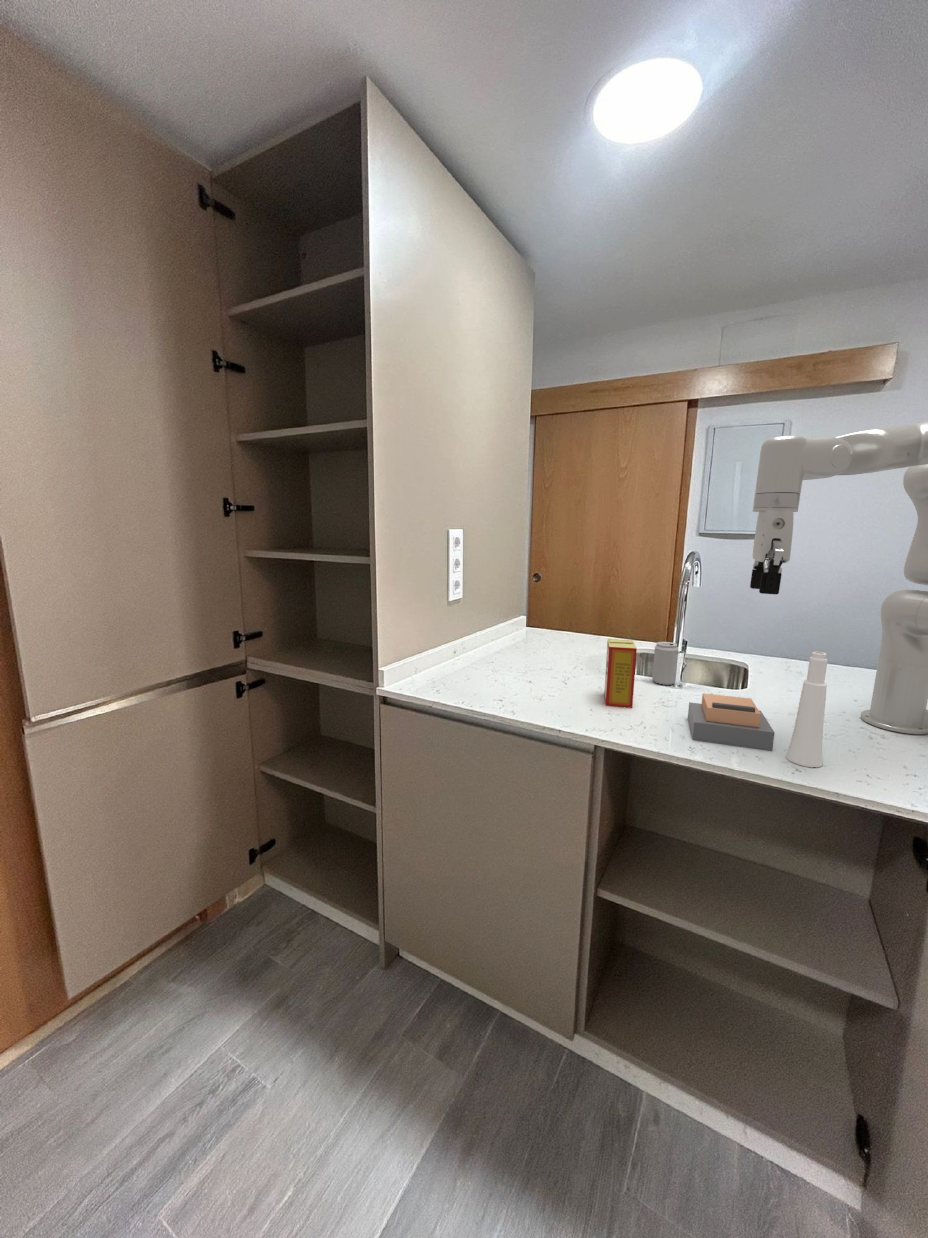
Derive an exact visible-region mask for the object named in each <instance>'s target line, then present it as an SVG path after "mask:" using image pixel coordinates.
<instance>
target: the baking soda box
mask: <svg viewBox="0 0 928 1238" xmlns="http://www.w3.org/2000/svg"><path fill="white" fill-rule="evenodd" d="M605 660H606V662H605V674H604V675H605V676H604V677H605V678H604V693H603V694H604V695H603V696H604V703H605V706H606V707H616V708H624V707H625V708H626V709H633V705H634V704H633V703H634V691H635V690H634V689H635V688H634V687H635V676H636V663H637V662H636V661H637V647H636V644H635V642H634V640H632V639H631V640H630V639H617V638H615V639H613V638H607V645H606V659H605ZM625 708H624V709H625Z"/></svg>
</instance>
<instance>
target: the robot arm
mask: <svg viewBox="0 0 928 1238" xmlns="http://www.w3.org/2000/svg"><path fill="white" fill-rule="evenodd" d="M758 462H759V463H758V468H757V476H756V485H755V491H754V496H753V497H754V498H753V499H754V500H753V506H752V512H754V513H758V515H757V521H756V527H755V534H754V540H753V546H752V547H753V548H752V559H753V560H754V562H753V565H752V570H751V576H750V584H749V588H750V589H753V590H758V592H759V593H760V594H765V595H766V594H767V595H779V594H780V590H781V589H780V588H781V581H782V571H783V564H787V563H789V562H790V560H791V552H792V541H793V532H794V531H793V530H794V513H796V512H798V511H799V506H800V500H801V493H802V486H803V481H811V480H821V479H829V478H832V477H835V476H855V475H863V474H872V473H879V472H884V471H889V470H896V469H903V468H906V470H905V472H904V474H903V482H902V485H903V488H904V491H905V493H906V494H907V496H908V497H909V499H910V500H911V502H912V504H913V506H914V508H915V511H916V514H917V523H916V524H917V525H916V528H915V531H914V533H913V534H914V535H913V537H912V541H911V542H910V544H911V545H910V547H909V550H908V553H907V556H906V559H905V562H904V566H903V575H904V578H905V579H906V580H907V581H909V582H911V583H914V584H917V585H924V586H928V421H923V422H915V423H909V424H901V425H895V426H889V427H888V426H887V427H878V428H871V429H865V430H862V431H855V432H851V433H847V434H843V435H840V436H824V437H813V438H812V437H811V438H809V437H804V436H800V435H780V436H773V437H771V438H767V439H766V440H765V441H764V442H763V443H762V445H761V448H760V454H759V461H758ZM880 618H881V619H880V620H881V642H880V649H879V654H878V655H879V656H878V659H877V660H878V661H877V666H876V667H877V668H876V672H875V679H874V683H873V691H872V696H871V702H870V708H869V709H865V710H862V711H861V712H860V719H861V720H862V721H864V722H865V723H867V724H869V725H872V726H874V727H877V728H880V729H883V730H887V731H890V732H891V731H892V732H896V733H901V734H909V735H927V734H928V709H927V705H928V591H927V590H919V589H918V590H917V589H902V590H897V591H894V592H892V593H889V595H888V596H886V597H885V598H884V599H883V601H882V603H881V607H880Z"/></svg>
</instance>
